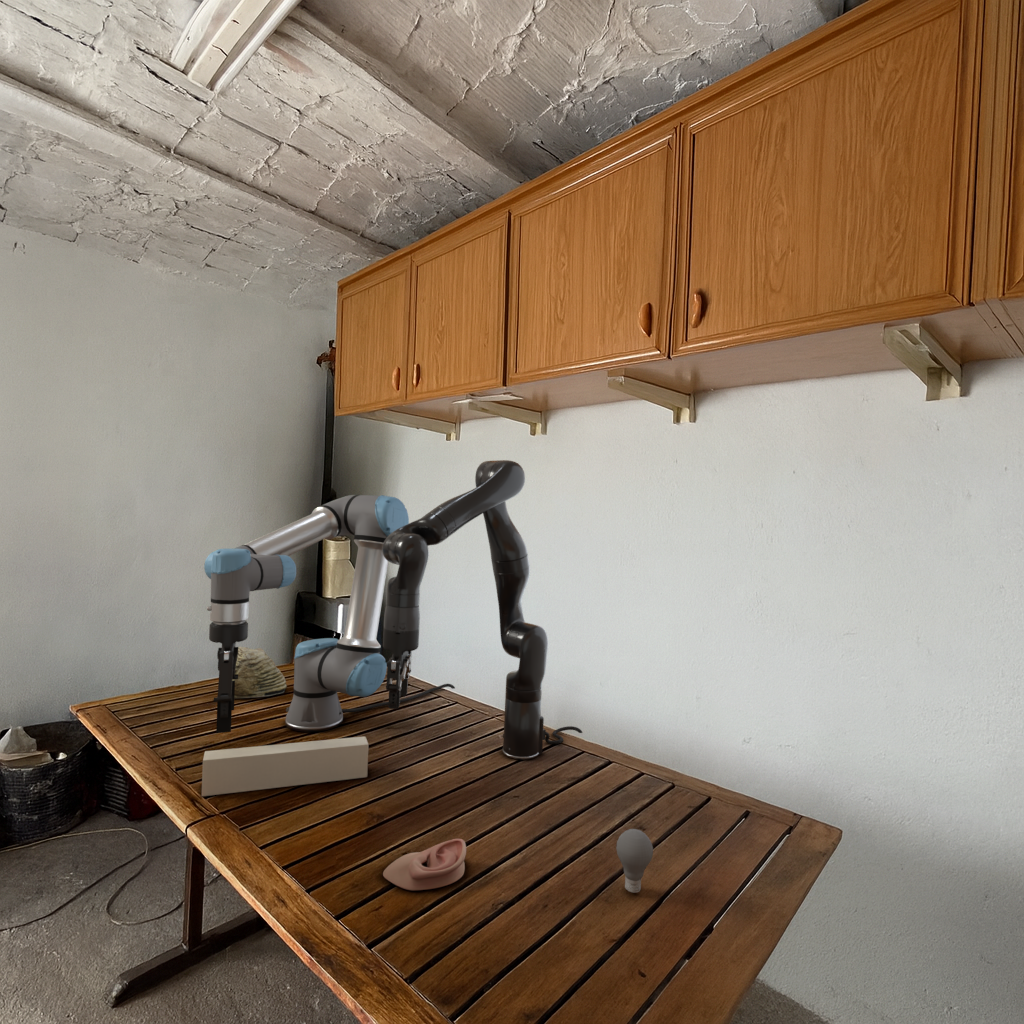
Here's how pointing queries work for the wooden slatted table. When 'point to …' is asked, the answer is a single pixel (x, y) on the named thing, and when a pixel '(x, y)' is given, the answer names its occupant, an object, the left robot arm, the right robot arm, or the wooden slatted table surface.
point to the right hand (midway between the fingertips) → (397, 701)
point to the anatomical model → (429, 867)
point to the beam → (283, 765)
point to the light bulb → (634, 857)
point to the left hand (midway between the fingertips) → (225, 720)
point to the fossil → (257, 674)
